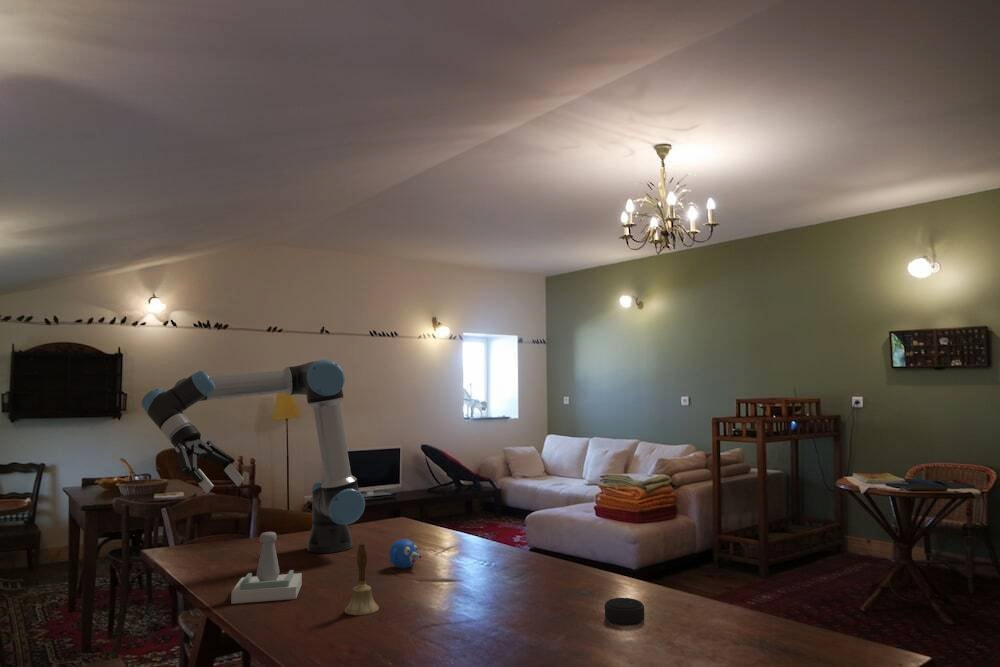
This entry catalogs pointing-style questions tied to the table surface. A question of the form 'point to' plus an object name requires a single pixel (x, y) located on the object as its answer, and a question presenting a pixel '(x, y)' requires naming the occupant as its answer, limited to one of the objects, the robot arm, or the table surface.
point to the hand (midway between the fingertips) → (226, 486)
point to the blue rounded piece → (404, 553)
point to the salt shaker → (268, 558)
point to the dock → (266, 588)
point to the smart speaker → (624, 611)
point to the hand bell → (361, 589)
